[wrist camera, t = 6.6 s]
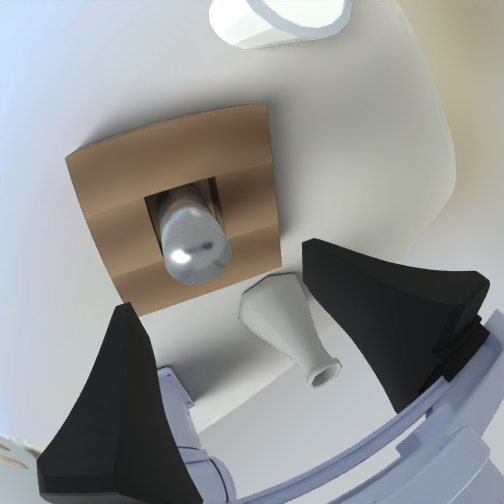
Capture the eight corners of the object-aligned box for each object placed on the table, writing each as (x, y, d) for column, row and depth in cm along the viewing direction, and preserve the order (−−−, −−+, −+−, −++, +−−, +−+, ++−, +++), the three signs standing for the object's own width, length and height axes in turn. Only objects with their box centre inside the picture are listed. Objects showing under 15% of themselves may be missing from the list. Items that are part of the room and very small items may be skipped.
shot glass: (292, -10, 13) (352, -37, 8) (288, 63, 17) (353, 53, 11) (203, -25, 11) (240, -74, 5) (196, 53, 14) (230, 24, 8)
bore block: (265, 248, 24) (281, 266, 21) (130, 294, 21) (132, 318, 18) (247, 104, 17) (266, 104, 15) (75, 150, 14) (64, 157, 12)
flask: (230, 289, 24) (282, 375, 17) (300, 261, 26) (368, 328, 18) (244, 338, 28) (287, 414, 21) (302, 312, 30) (355, 376, 22)
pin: (204, 220, 20) (232, 277, 14) (160, 228, 19) (170, 290, 13) (201, 178, 18) (230, 220, 12) (153, 185, 17) (158, 233, 11)
